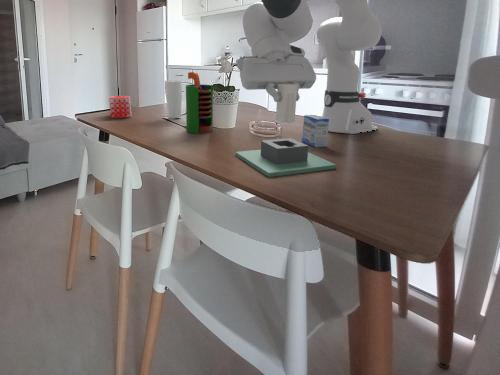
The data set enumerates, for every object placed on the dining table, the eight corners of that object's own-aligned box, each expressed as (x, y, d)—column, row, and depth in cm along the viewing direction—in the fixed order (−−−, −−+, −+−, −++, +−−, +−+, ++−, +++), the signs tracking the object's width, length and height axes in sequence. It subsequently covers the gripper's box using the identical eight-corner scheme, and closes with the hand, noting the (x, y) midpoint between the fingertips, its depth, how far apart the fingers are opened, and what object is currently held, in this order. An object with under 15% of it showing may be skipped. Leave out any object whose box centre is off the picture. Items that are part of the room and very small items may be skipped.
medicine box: (301, 141, 120) (303, 115, 117) (313, 140, 122) (315, 114, 119) (314, 147, 113) (317, 119, 110) (326, 146, 115) (329, 118, 112)
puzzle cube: (131, 117, 156) (129, 98, 153) (111, 117, 153) (109, 98, 151) (131, 114, 163) (129, 95, 160) (112, 114, 161) (110, 96, 158)
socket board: (294, 149, 110) (295, 132, 109) (335, 168, 93) (337, 149, 92) (235, 155, 103) (235, 137, 101) (268, 177, 86) (269, 156, 84)
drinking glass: (164, 118, 153) (161, 81, 148) (170, 116, 159) (168, 80, 154) (179, 119, 152) (178, 81, 147) (185, 117, 158) (183, 80, 153)
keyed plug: (287, 119, 96) (289, 83, 93) (296, 122, 93) (299, 85, 90) (275, 120, 95) (277, 83, 92) (284, 123, 91) (286, 85, 88)
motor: (207, 134, 127) (205, 73, 120) (182, 132, 129) (179, 72, 122) (215, 128, 137) (214, 72, 130) (192, 127, 138) (190, 71, 131)
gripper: (237, 46, 90) (253, 92, 85) (309, 49, 98) (327, 91, 93) (230, 65, 95) (245, 109, 91) (298, 66, 104) (315, 106, 99)
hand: (287, 100), depth 92 cm, fingers closed on keyed plug, 3 cm apart
